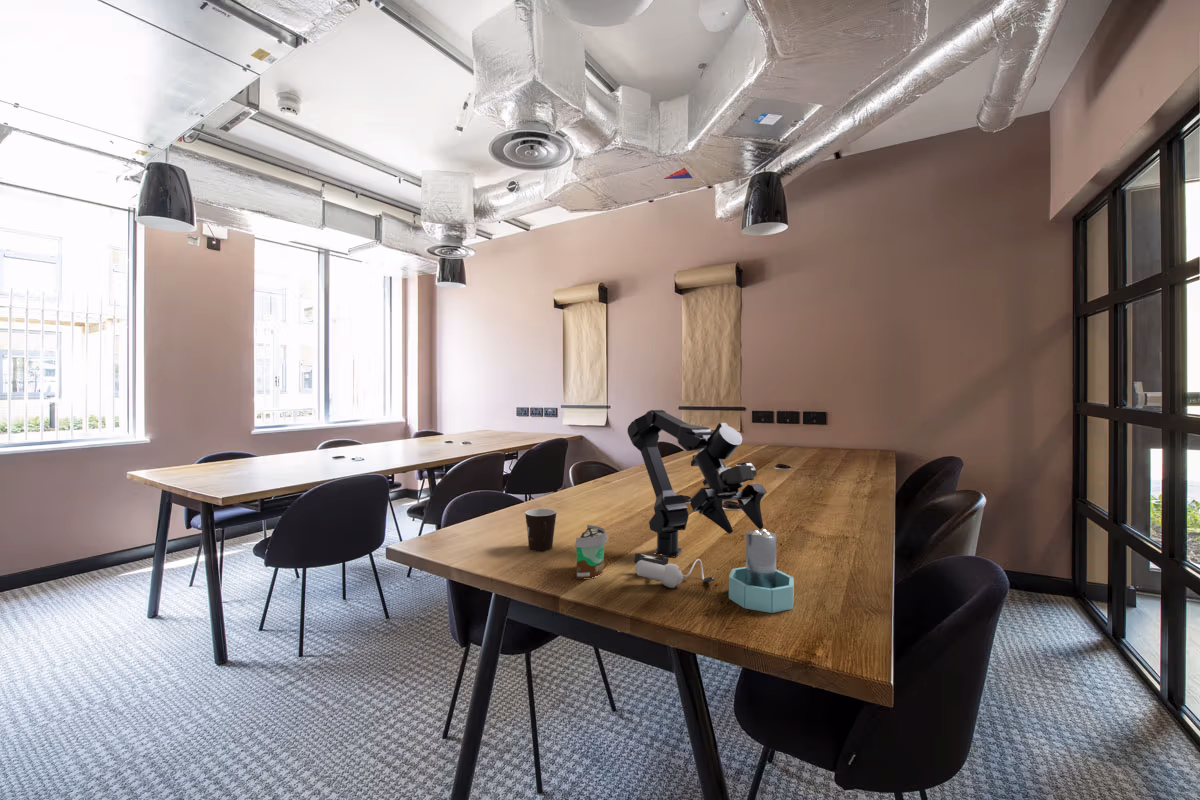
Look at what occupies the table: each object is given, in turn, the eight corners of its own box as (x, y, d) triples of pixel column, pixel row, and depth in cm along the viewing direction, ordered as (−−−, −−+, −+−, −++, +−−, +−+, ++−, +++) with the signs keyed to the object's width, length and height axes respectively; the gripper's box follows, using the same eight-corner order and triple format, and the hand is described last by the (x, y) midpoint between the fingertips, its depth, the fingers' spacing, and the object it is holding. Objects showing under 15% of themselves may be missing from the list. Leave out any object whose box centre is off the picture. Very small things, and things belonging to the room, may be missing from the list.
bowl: (734, 583, 111) (734, 563, 111) (794, 592, 106) (794, 571, 106) (725, 605, 99) (725, 583, 99) (792, 616, 94) (792, 593, 94)
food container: (601, 584, 110) (602, 540, 110) (575, 581, 111) (575, 538, 111) (611, 565, 122) (611, 525, 122) (587, 563, 123) (587, 524, 123)
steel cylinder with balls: (742, 587, 106) (743, 526, 105) (770, 588, 105) (771, 526, 105) (750, 599, 100) (750, 534, 99) (779, 599, 99) (780, 534, 99)
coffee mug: (530, 542, 140) (530, 508, 140) (559, 544, 139) (559, 509, 139) (517, 555, 129) (517, 518, 129) (549, 557, 128) (549, 519, 127)
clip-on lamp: (704, 585, 117) (631, 567, 118) (710, 559, 117) (637, 541, 119) (713, 601, 105) (631, 580, 107) (719, 572, 106) (638, 551, 107)
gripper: (702, 451, 105) (736, 515, 96) (762, 449, 114) (799, 507, 105) (677, 480, 112) (706, 542, 103) (736, 476, 121) (768, 533, 112)
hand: (746, 530), depth 106 cm, fingers open, 9 cm apart
